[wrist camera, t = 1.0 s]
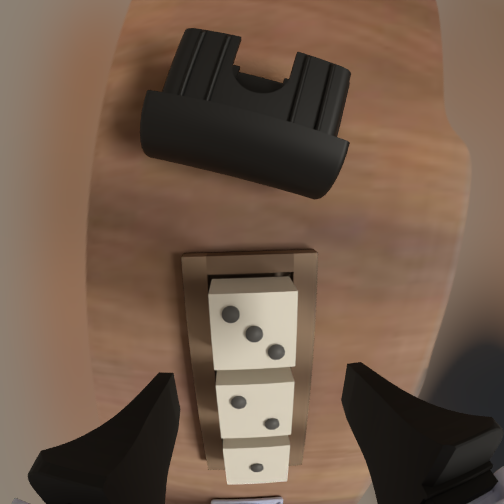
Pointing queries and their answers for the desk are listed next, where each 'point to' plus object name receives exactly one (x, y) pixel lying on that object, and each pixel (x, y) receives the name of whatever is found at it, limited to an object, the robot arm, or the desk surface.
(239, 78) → the end cap
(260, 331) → the tile three
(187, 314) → the tile tray
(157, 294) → the desk surface
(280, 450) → the tile one
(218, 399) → the tile two
